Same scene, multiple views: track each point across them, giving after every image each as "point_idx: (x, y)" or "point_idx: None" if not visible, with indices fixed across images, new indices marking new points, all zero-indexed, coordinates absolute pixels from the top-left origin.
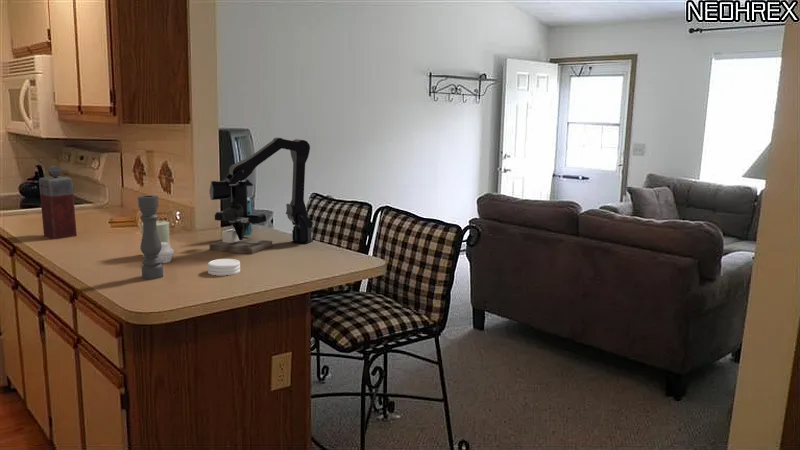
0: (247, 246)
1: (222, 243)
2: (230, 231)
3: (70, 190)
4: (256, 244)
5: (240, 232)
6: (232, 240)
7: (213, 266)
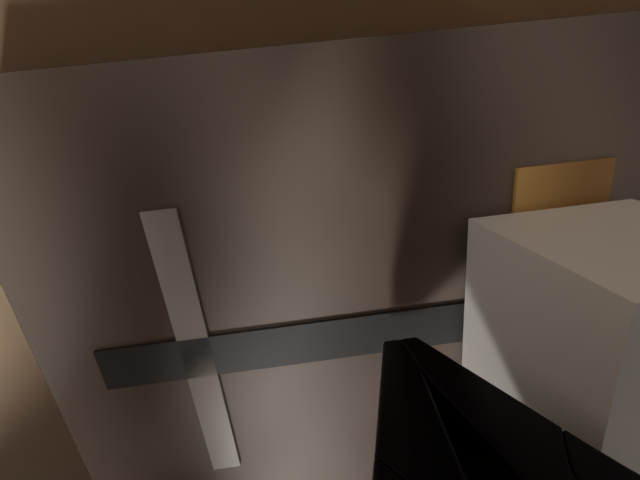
0: (122, 179)
1: (605, 158)
2: None
3: None
4: (123, 346)
5: (420, 437)
6: (488, 246)
7: None
